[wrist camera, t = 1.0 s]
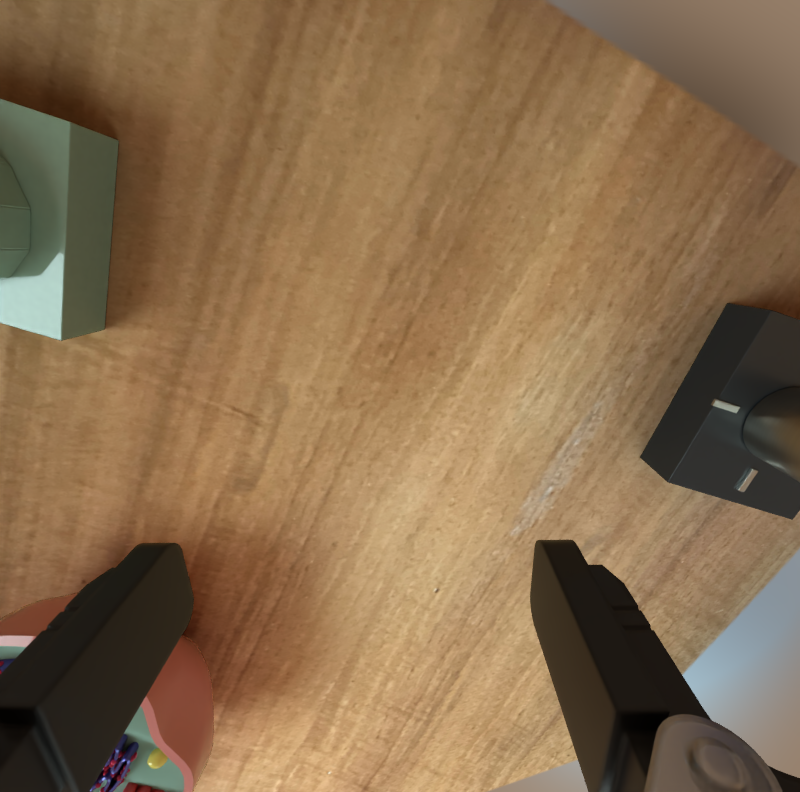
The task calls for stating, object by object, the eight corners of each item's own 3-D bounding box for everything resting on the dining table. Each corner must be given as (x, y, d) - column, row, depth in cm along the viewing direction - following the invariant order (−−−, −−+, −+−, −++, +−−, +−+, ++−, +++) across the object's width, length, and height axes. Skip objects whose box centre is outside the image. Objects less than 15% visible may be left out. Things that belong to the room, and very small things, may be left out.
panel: (723, 301, 23) (770, 309, 20) (855, 346, 24) (920, 360, 21) (636, 456, 26) (666, 483, 23) (754, 492, 27) (798, 522, 24)
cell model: (43, 717, 35) (-116, 921, 24) (-1, 519, 29) (-245, 680, 18) (244, 739, 36) (173, 949, 25) (246, 548, 29) (151, 722, 18)
